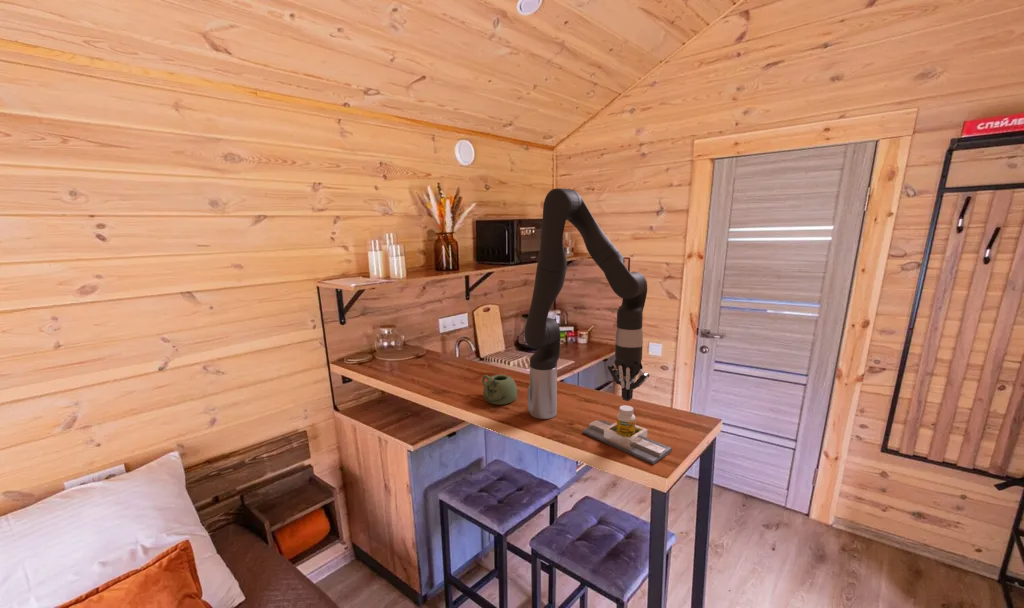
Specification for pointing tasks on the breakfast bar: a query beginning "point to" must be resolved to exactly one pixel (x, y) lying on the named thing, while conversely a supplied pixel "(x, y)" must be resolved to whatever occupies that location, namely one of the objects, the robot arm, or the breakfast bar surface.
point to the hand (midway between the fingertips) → (627, 399)
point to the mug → (499, 389)
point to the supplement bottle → (626, 421)
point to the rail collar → (628, 441)
